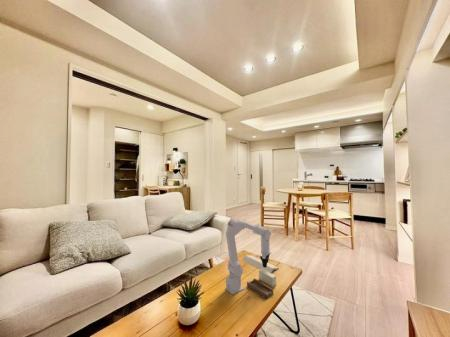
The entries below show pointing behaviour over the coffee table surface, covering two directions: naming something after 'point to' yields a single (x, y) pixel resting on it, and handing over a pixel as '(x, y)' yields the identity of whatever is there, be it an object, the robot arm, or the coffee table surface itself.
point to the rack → (260, 288)
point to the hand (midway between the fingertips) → (265, 264)
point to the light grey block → (267, 277)
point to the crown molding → (258, 263)
